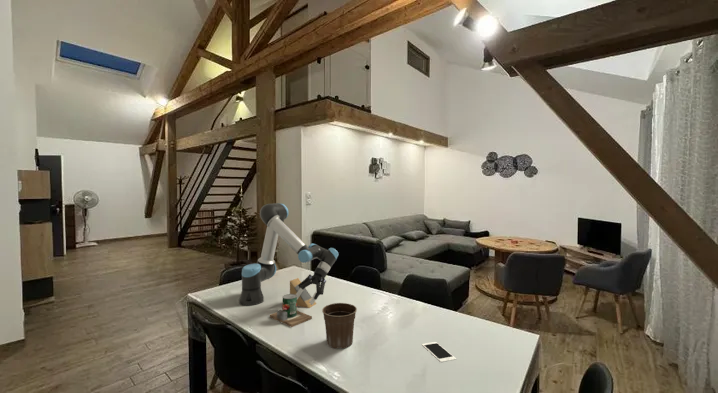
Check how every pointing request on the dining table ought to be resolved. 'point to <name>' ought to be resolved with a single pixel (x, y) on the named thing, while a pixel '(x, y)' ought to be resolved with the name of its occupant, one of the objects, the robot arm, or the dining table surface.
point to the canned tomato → (290, 305)
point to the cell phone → (438, 352)
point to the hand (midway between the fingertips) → (302, 301)
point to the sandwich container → (304, 296)
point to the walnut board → (291, 322)
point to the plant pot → (339, 324)
